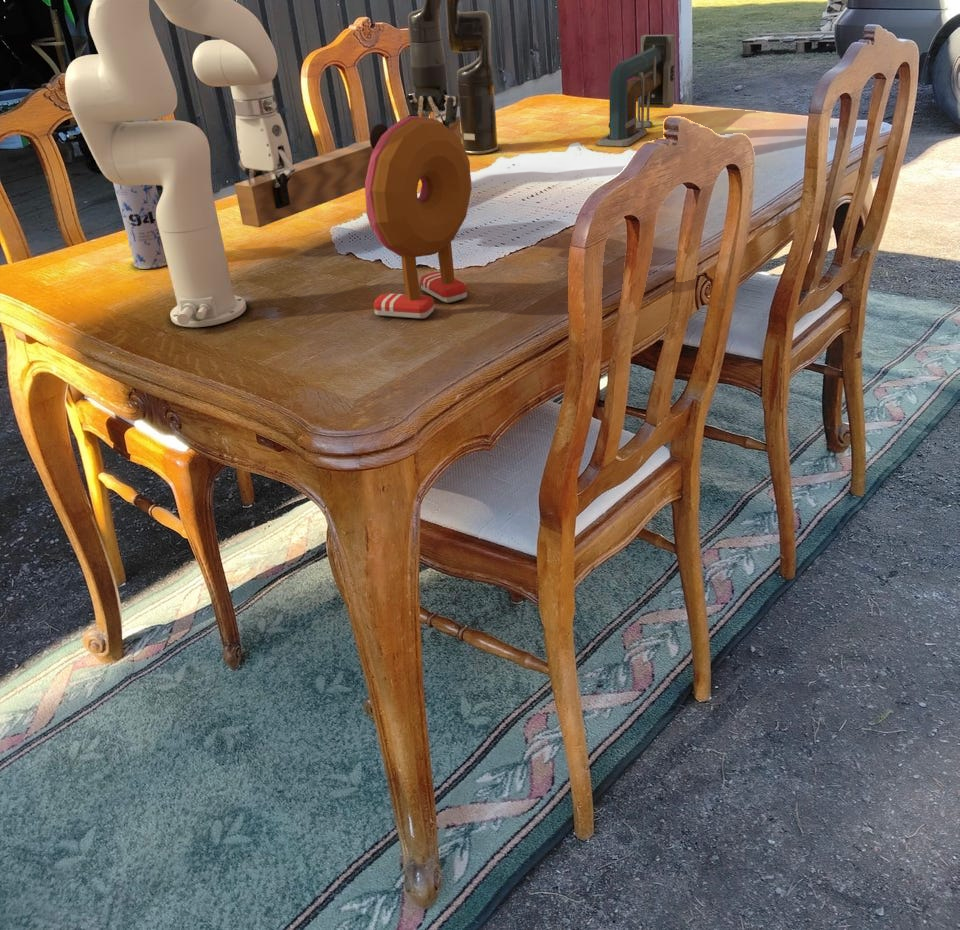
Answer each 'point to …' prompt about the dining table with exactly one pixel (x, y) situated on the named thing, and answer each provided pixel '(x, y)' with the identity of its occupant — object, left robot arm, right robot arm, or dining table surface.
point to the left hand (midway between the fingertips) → (273, 204)
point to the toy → (418, 207)
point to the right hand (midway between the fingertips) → (435, 142)
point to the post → (310, 183)
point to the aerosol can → (141, 224)
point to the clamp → (640, 89)
